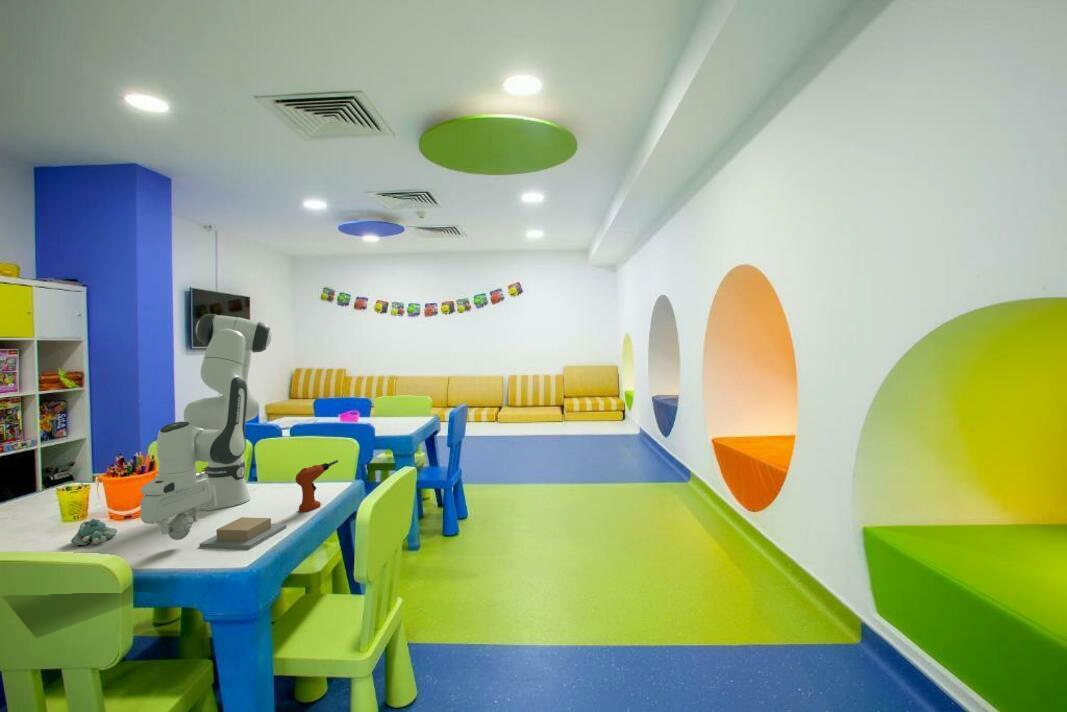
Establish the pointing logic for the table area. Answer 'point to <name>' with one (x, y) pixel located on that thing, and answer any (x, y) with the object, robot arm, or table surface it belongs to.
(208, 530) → the table surface
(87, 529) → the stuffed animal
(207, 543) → the baseplate
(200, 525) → the table surface
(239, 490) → the robot arm
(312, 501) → the toy drill
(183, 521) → the grey lumpy sculpture
